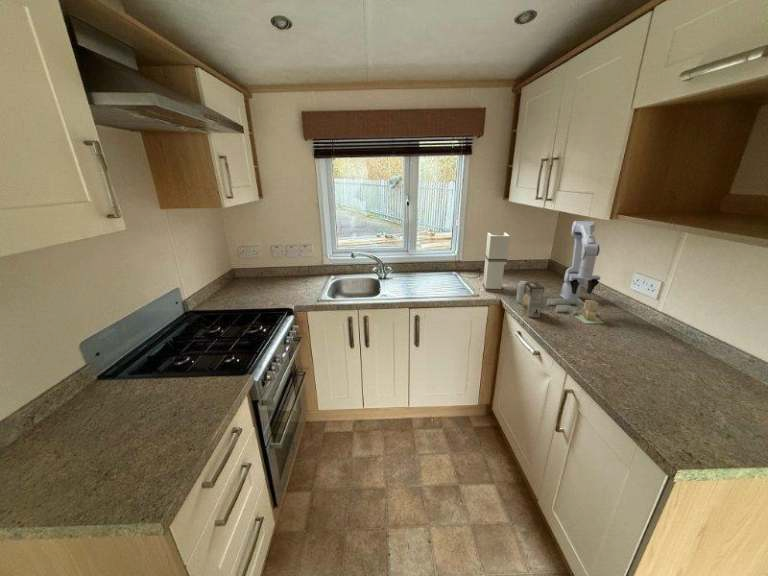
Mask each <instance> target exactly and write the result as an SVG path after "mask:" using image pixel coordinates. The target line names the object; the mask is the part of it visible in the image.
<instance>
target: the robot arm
mask: <svg viewBox="0 0 768 576" xmlns="http://www.w3.org/2000/svg"><path fill="white" fill-rule="evenodd" d="M595 230H596V222H595V221H594V220H592V221H590V220H589V221H587V220H584V221H583V220H580V221H579V220H574V221H573V222H572V226H571V237H572V238H574V245H573V252H572V253H573V254H572V263H571V266H570V267H569V268H567V269H566V270H565V273H564V278H563V279H564V280H563V281H564V283H563V284H562V285H561V286H562V287H561V291H560V292H561V293H560V294H559V297H560V298H561V297H562V298H578V299H579V300H581V301H582V299H581V298H580V293H581V288H582V286H583V285H585V284H586V281H587V289H586V293H587V294H589V295H591V294H592V292H593V291H594V289H595V287H596V286H597V285H598V284H599V283H600V280H601V276H600V275H599V274H598V275H594V274H593V273H594V269H595V263H596V260H597V257H598V256H599V254H600V249H601V248H600V244H599V243H597V242H596V238H595V236H594V235H593V233H594V231H595ZM582 302H583V301H582Z"/></svg>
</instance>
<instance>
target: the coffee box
mask: <svg viewBox="0 0 768 576" xmlns="http://www.w3.org/2000/svg"><path fill="white" fill-rule="evenodd" d="M544 293H545V287H544V286H543V285H541V283H539V282H538V281H527V282H525V289H524V296H523V303H522V305H521V311H522V312H523V313H524V315H525V316H526V317H527V318H539V317H540V315H541V309H542V303H543V300H544V299H543V298H544Z"/></svg>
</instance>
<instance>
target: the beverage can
mask: <svg viewBox="0 0 768 576" xmlns="http://www.w3.org/2000/svg"><path fill="white" fill-rule="evenodd" d="M525 282H528V281H527V280H521V281H519V283H518V284H517V291H516V299H515V301H516V302H517V303H518V304H522V303H523V296H524V289H525Z"/></svg>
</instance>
